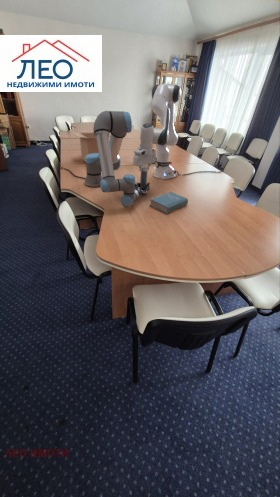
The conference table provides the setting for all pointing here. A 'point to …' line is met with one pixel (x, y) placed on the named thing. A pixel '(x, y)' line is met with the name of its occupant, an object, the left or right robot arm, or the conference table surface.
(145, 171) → the lid
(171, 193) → the book
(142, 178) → the dark grey cylinder
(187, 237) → the conference table surface
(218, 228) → the conference table surface
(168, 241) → the conference table surface
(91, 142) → the box
